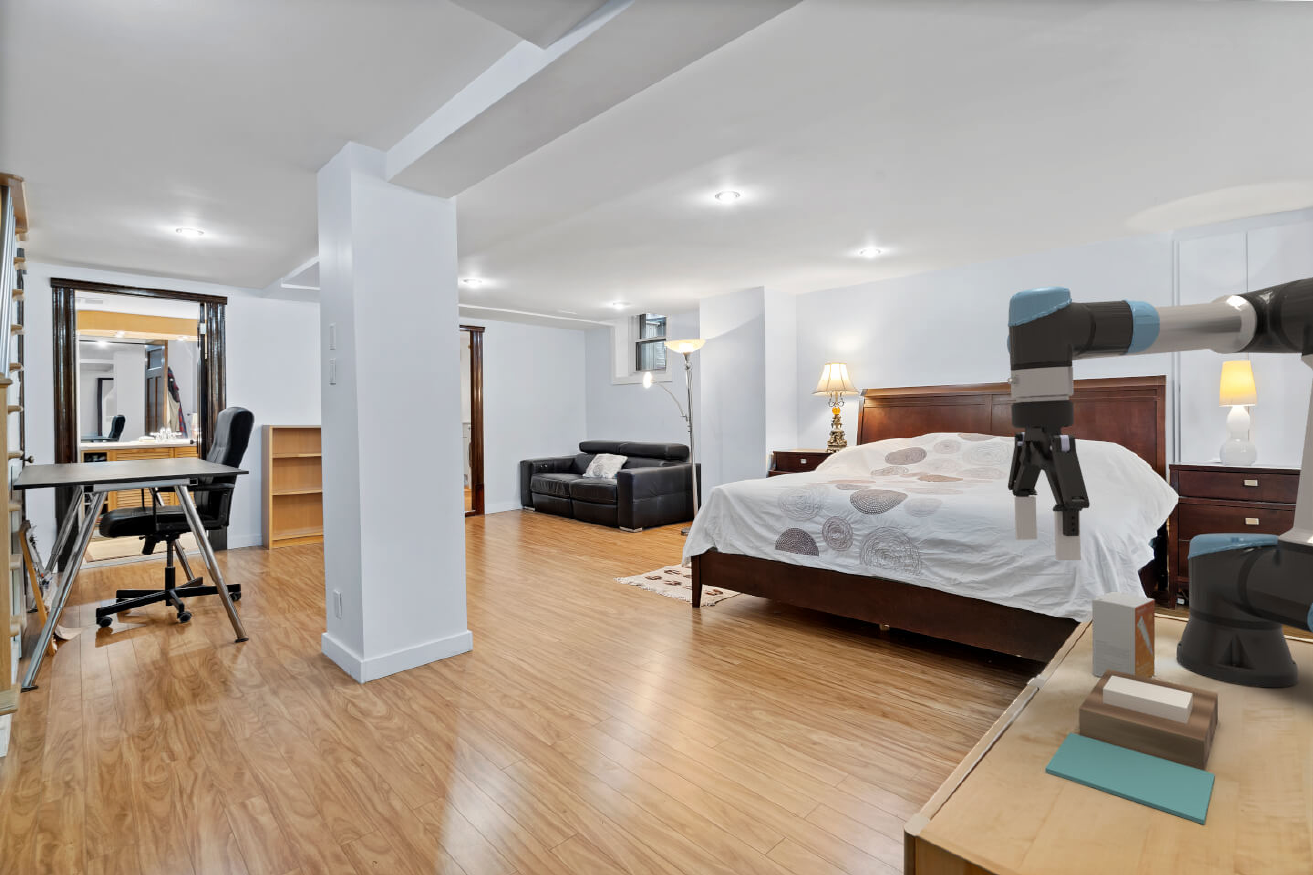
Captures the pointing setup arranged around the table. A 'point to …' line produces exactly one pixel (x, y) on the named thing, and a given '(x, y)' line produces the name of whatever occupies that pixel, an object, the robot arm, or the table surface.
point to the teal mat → (1134, 776)
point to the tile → (1148, 698)
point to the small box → (1123, 634)
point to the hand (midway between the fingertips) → (1045, 548)
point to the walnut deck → (1152, 724)
